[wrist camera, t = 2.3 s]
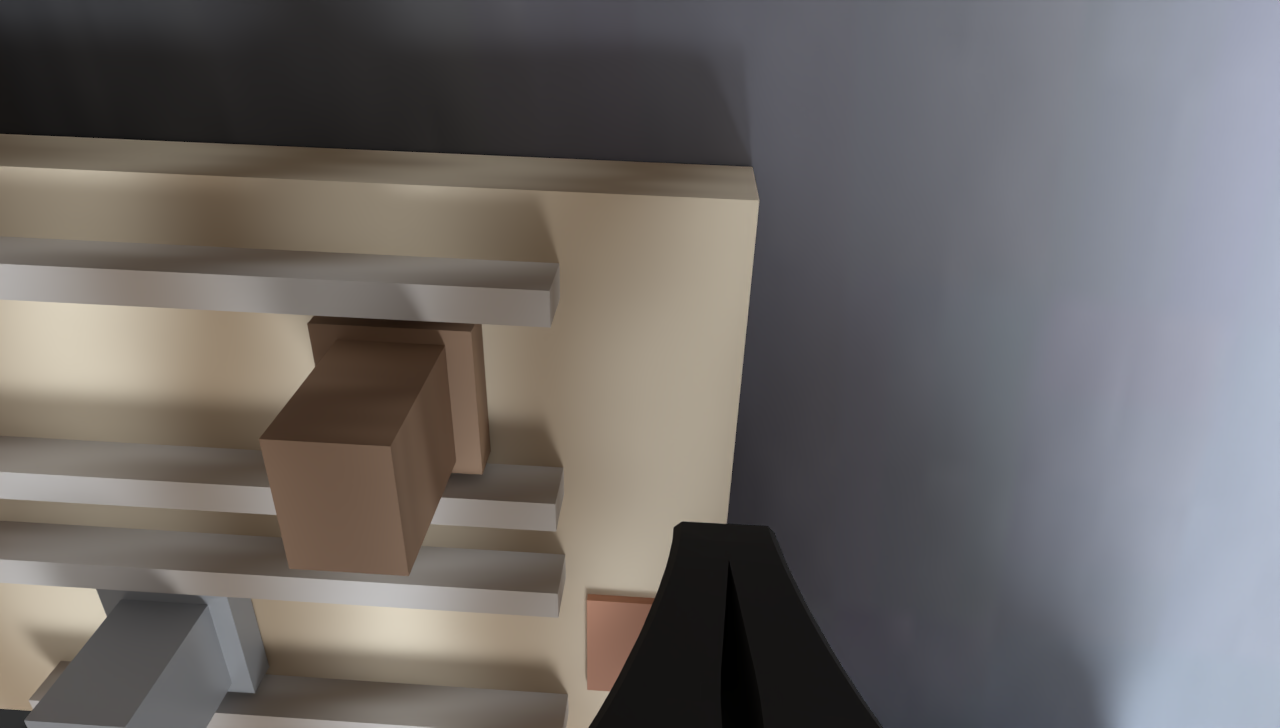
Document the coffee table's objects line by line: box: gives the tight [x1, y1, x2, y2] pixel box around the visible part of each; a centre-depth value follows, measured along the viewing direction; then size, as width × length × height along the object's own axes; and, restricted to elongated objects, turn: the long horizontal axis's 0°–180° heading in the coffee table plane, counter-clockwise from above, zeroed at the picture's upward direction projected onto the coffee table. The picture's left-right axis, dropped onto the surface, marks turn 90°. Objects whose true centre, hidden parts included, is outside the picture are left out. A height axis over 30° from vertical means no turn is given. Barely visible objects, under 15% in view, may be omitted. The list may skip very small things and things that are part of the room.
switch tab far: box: [24, 589, 269, 728], centre depth 19 cm, size 3×3×4 cm
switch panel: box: [0, 134, 759, 728], centre depth 19 cm, size 20×15×3 cm
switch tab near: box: [259, 316, 491, 576], centre depth 15 cm, size 3×3×4 cm
